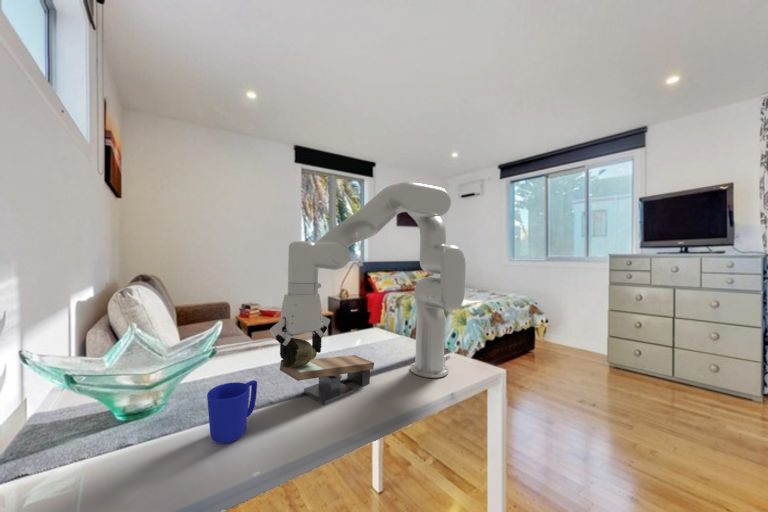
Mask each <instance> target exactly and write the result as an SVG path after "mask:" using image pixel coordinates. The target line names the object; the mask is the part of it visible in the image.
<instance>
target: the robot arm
mask: <svg viewBox="0 0 768 512" xmlns="http://www.w3.org/2000/svg"><path fill="white" fill-rule="evenodd" d="M451 203H452V200H451V196H450V195H449V193H448V192H447V191H446V190H445V189H444V188H442V187H440V186H439V187H438V186H433V185H428V184H423V183H418V182H414V181H403V182H399V183H395V184H392V185H389V186H386V187H384V188H383V189H382V190H381V191H379V192H378V193H377V194H375V196H374V197H372V198H371V199H370V200H369V201H368V202H367V203H366V204H364V205H363V206H362V207H361V208H360V209H359V210H357V211H356V212H355V213H353V214H352V215H350V216H349V217H347V218H346V219H344V220H343V221H341V222H339V223H338V224H337V225H335V226H334V227H332V228H331V229H330V230H328V232H326V233H324V235H323V236H322V237H320V238H319V239H318V240H317V241H314V242H313V241H299V240H297V241H296V240H295V241H291V243H289V245H288V260H287V261H288V262H287V263H288V264H287V265H288V266H287V274H288V275H287V294H284V295H283V299H282V305H281V310H280V319H279V321H278V322H276V324H274V325H273V326H272V327H271V328H270V329H269V332H270V334H271V335H272V337H273V339H274V340H276V342H278V344H279V356H280V359H281V360H283V359H284V360H285V361H289V360H290V345H289V344H288V343H289V341H290V339H291V338H293V336H298V335H304V334H308V333H309V334H310V333H313V335H312V339H311V340H312V341H311V346H314V347H315V348H316V350H317V354H318V353H321V351H322V338H324V337H325V336H324V334H325V332H326V331H327V330H328V326H329V325H330V322H331V319H330V318H328V317H326V316H324V315H323V311H322V310H323V309H322V301H321V297H320V296H321V295H320V293H319V292H318V291H319V289H321V288H322V284H321V283H319V269H325V270H331V271H338V270H341V269H343V268H345V267H347V265H348V264H349V262H350V259H351V253H350V249H349V247H351V246H352V245H354V244H357V243H359V242H361V241H364V240H367V239H370V238H371V237H373V236H375V235H377V234H378V233H380V232H381V230H382V229H384V227H385V226H387V225H388V224H389V223H390V222H391V221H392V220H393V219H394V218H395V217H396V216H398V215H399V214H401V213H407V214H408V215H409V216H410V217H411V218H412V220H414V222H415V223H416V225H417V226H418V229H419V265H420V268H421V269H422V271H424V272H426V273H430V274H436V275H440V277H433V276H426V277H422V278H420V279H419V280H418V281H417V282H416V283H415V286H414V301H415V307H416V326H415V327H416V328H415V357H414V358H415V361H414V362H413V363H412V364H410V371H411V372H412V373H413V374H414V375H417V376H419V377H423V378H428V379H429V378H430V379H437V378H442V377H445V376H447V375H448V374H449V367H448V366H447V365H445V362H447V361H449V360H450V359H451V356H450V354H448V353H447V354H445V339H446V338H445V336H446V335H445V334H446V318H445V317H446V316H445V311H451V312H453V311H456V310H458V309H459V308H460V307H461V306H462V304H463V302H464V298H465V293H466V292H465V291H466V289H465V287H466V265H467V264H466V257H465V255H464V252H463V251H462V249H461V248H460V247H458V246H456V245H454V244H447V233H446V232H447V231H446V225H445V223H444V221H443V219H442V218H441V216H444V215H445V214H447V213H448V212H449V210H450V209H451V206H452V204H451ZM444 310H445V311H444ZM279 331H280V332H281V334H280V332H279Z"/></svg>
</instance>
